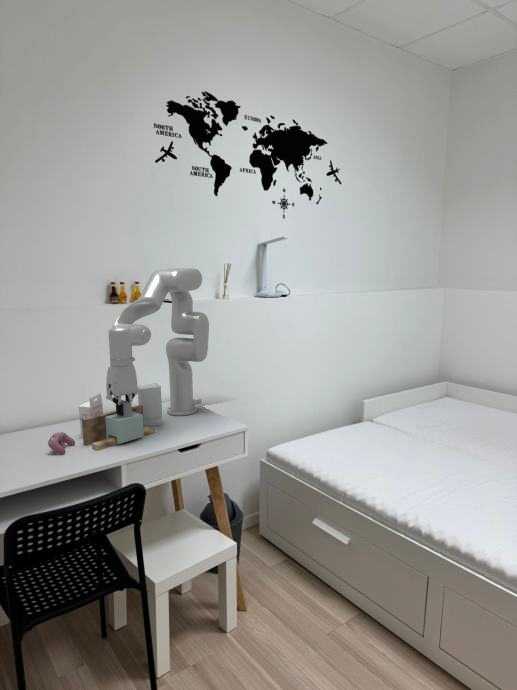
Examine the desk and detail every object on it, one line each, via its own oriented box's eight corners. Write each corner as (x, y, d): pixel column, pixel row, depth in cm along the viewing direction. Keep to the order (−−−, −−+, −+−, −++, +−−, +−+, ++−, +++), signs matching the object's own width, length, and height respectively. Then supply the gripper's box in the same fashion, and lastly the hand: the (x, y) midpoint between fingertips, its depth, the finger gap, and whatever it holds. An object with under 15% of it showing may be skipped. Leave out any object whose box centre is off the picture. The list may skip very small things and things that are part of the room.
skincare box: (159, 420, 200) (158, 382, 197) (163, 425, 194) (162, 386, 191) (138, 423, 196) (136, 384, 194) (141, 428, 190) (139, 388, 188)
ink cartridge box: (92, 429, 189) (90, 392, 186) (104, 430, 188) (102, 392, 185) (80, 437, 180) (77, 397, 178) (92, 438, 179) (90, 398, 177)
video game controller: (65, 448, 173) (55, 431, 173) (77, 443, 173) (67, 425, 172) (53, 459, 164) (42, 441, 163) (65, 453, 163) (54, 435, 162)
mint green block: (130, 431, 183) (129, 397, 181) (143, 436, 178) (142, 400, 176) (106, 438, 176) (104, 402, 174) (119, 443, 171) (117, 406, 169)
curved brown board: (141, 427, 191) (140, 404, 189) (155, 432, 185) (154, 409, 184) (83, 444, 173) (81, 419, 172) (96, 450, 167) (95, 424, 166)
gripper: (134, 358, 181) (137, 407, 184) (94, 364, 169) (97, 417, 172) (147, 360, 176) (149, 411, 179) (106, 367, 164) (109, 421, 167)
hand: (123, 413), depth 176 cm, fingers closed on mint green block, 2 cm apart
